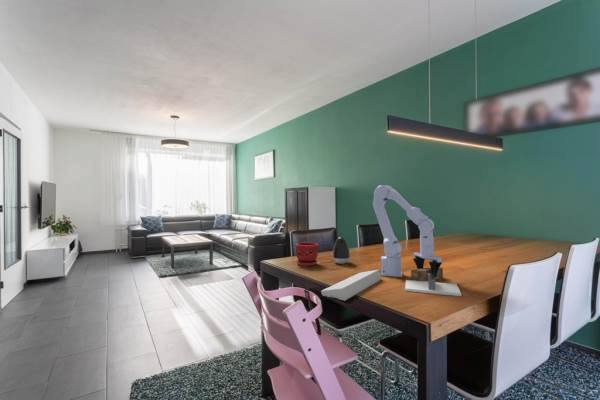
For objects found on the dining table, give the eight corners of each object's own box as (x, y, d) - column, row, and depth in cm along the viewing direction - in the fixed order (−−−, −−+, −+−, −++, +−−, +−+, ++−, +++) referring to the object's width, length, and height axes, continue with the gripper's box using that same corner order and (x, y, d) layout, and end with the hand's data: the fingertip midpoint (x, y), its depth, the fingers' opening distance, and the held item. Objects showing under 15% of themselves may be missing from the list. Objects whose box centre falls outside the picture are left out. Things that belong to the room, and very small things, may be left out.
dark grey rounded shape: (334, 265, 166) (333, 238, 166) (331, 261, 176) (331, 236, 176) (352, 264, 166) (351, 237, 166) (348, 260, 177) (347, 235, 177)
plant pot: (319, 266, 163) (319, 245, 163) (295, 267, 163) (295, 245, 163) (317, 261, 176) (317, 241, 176) (295, 262, 176) (295, 242, 176)
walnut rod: (417, 283, 130) (416, 271, 130) (411, 281, 133) (410, 270, 133) (442, 278, 137) (442, 267, 137) (436, 276, 140) (436, 266, 140)
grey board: (405, 290, 119) (405, 288, 119) (405, 282, 131) (405, 279, 131) (461, 296, 111) (461, 293, 111) (456, 286, 123) (456, 284, 123)
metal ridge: (428, 289, 117) (428, 279, 117) (427, 282, 126) (427, 273, 126) (435, 290, 116) (435, 279, 116) (433, 283, 125) (433, 273, 125)
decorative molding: (323, 303, 114) (345, 301, 108) (320, 290, 115) (342, 288, 109) (362, 282, 141) (381, 280, 135) (359, 272, 142) (378, 269, 136)
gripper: (446, 247, 130) (447, 277, 130) (420, 242, 143) (421, 270, 143) (434, 248, 127) (435, 279, 127) (409, 244, 140) (410, 272, 140)
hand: (427, 275), depth 135 cm, fingers open, 7 cm apart
